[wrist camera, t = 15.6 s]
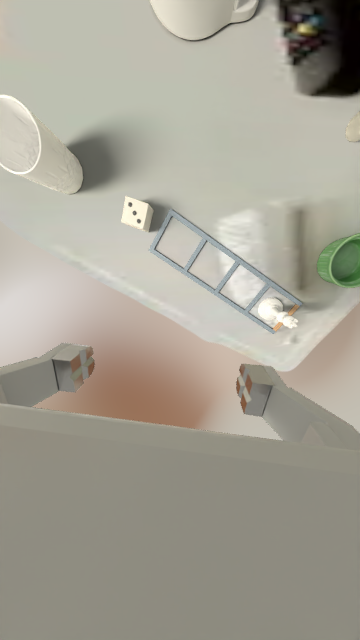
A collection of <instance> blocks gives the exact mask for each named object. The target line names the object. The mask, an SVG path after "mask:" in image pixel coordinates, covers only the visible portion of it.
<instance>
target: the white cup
mask: <svg viewBox="0 0 360 640" xmlns="http://www.w3.org/2000/svg"><path fill="white" fill-rule="evenodd" d="M0 165H1V166H2V167H3V168H5V169H6V170H8V171H10V172H12V173H14V174H17V175H19V176H22V177H24V178H26V179H28V180H31V181H33V182H35V183H38V184H41V185H43V186H46V187H48V188H51V189H53V190H57V191H59V192H62V193H65V194H73V193H76V192H77V191H78V190H79V189H80V187H81V185H82V181H83V172H82V167H81V165H80V163H79V161H78V159H77V157H75V156H74V155H73V154H72V153H71V152H70V151H69V150H68V149H67V148H66V146H65V145H64V144H63V143H62V142H61V141H60V140H59V139H58V138H57V137H56V136H55V135H54V134H53V133H52V132H51V130H49V129H48V128H47V127H46V126H45V125H44V124H43V123H42V122H41V121H40V120H39V119H38V118H37V117H36V116H35V115H34V114H33V113H32V112H31V111H30V110H29V109H28V108H27V107H26V106H25V105H24V104H22V103H21V102H20V101H19V100H17V99H16V98H14V97H11V96H8V95H0Z"/></svg>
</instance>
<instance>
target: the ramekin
mask: <svg viewBox="0 0 360 640" xmlns="http://www.w3.org/2000/svg"><path fill="white" fill-rule="evenodd" d="M317 270H318V273H319V275H320V277H321V278H322V279H324V280H325V281H327V282H331V283H334V284H336V285H338V286H341V287H345V288H355V287H359V286H360V233H358V234H355V235H353V236H350V237H346V238H342V239H339V240H337V241H335V242H333V243H331V244H330V245H328V246H327V247H326V248H325V249H324V250H323V252H322V253H321V255H320V257H319V259H318V262H317Z"/></svg>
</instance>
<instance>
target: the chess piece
mask: <svg viewBox="0 0 360 640" xmlns="http://www.w3.org/2000/svg"><path fill="white" fill-rule="evenodd" d="M282 311H283V304H282V303H281V301H280V300H278V299H277V298H267V299H265V300H264V301H262V302H261V304H260V305H259V308H258V312H259V315H260V316H261V317H262V318H264V319H266V320H273V319H277V321H278V322H283V324H284V326H286V327H289V328H290V329H291V328H292V327H293V326H294V327H297V326H298V325H296V323H297V322H298V320H296V319H295V318H294V317H293V316H289V315H288V313H287V312H284V311H283V312H282Z"/></svg>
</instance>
